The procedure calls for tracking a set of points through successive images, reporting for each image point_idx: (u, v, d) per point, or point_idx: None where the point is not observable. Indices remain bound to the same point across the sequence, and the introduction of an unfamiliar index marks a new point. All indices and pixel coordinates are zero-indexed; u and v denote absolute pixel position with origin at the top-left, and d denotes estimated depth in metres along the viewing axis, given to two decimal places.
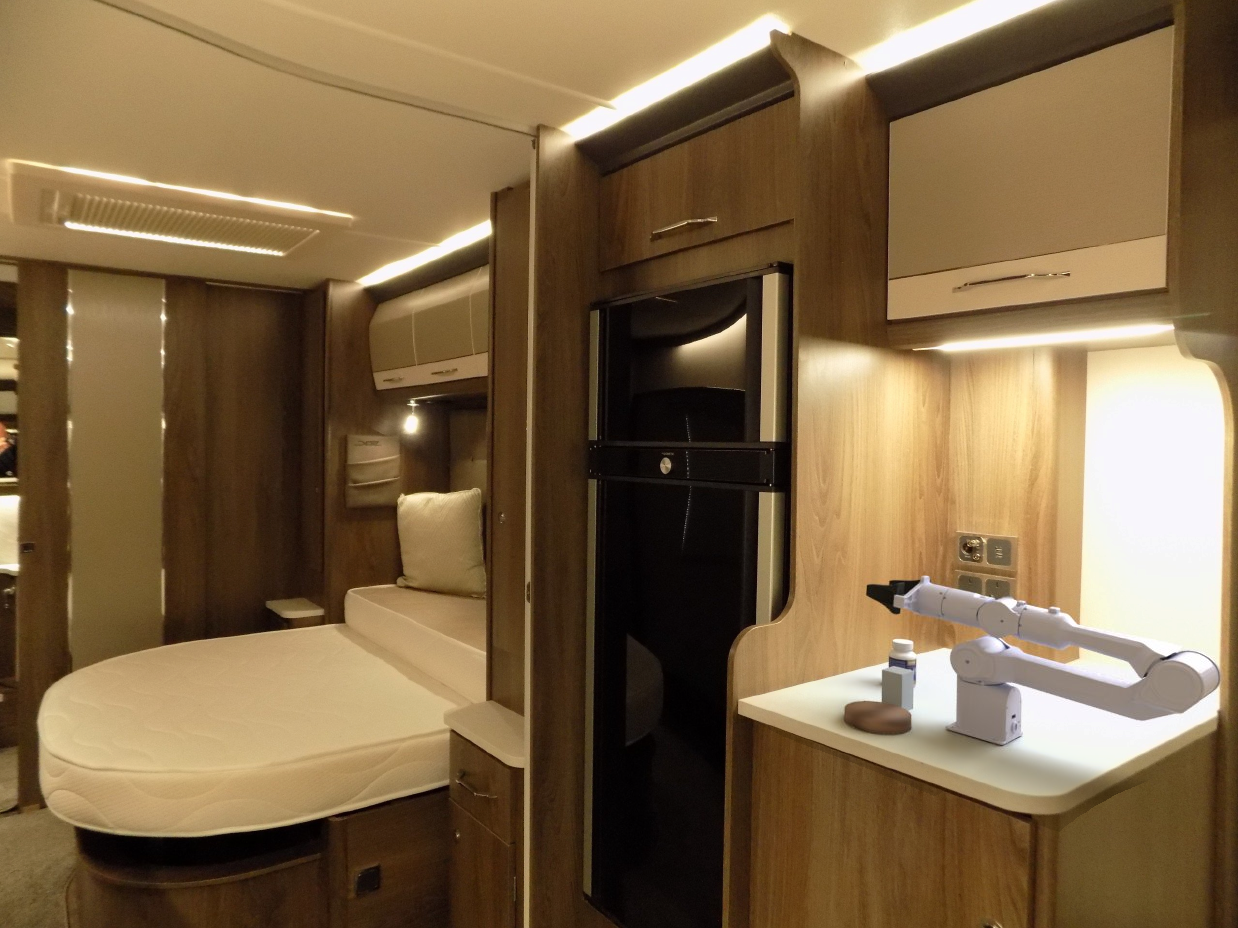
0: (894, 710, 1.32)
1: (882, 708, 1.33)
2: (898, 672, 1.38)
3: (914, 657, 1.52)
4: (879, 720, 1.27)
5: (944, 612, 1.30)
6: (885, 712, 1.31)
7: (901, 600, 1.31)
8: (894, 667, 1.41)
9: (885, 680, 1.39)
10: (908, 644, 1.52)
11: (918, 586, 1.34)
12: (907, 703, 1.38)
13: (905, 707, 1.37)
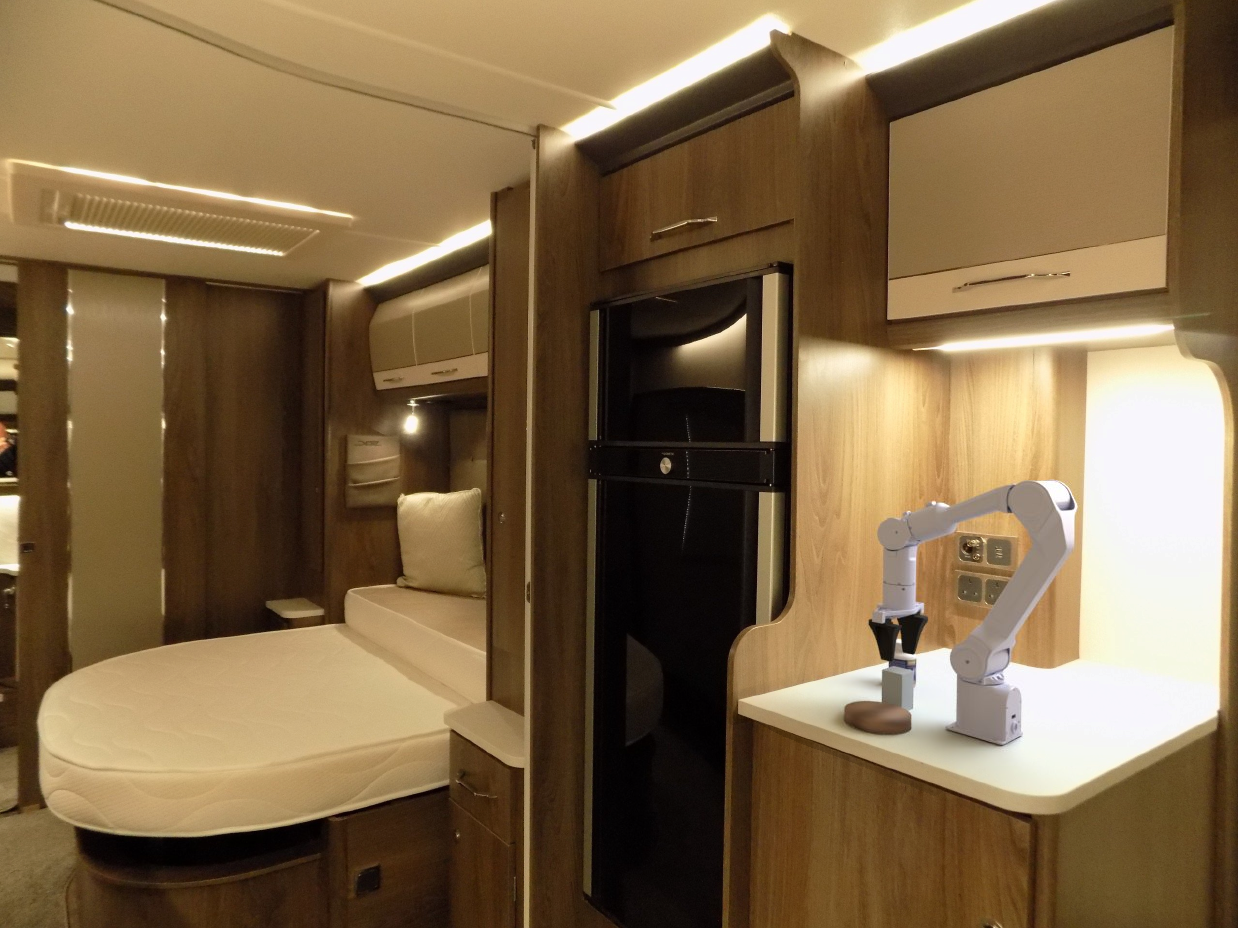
0: (894, 710, 1.32)
1: (882, 708, 1.33)
2: (898, 672, 1.38)
3: (914, 657, 1.52)
4: (879, 720, 1.27)
5: (896, 581, 1.37)
6: (885, 712, 1.31)
7: (875, 614, 1.35)
8: (894, 667, 1.41)
9: (885, 681, 1.39)
10: None
11: None
12: (907, 703, 1.38)
13: (905, 707, 1.37)
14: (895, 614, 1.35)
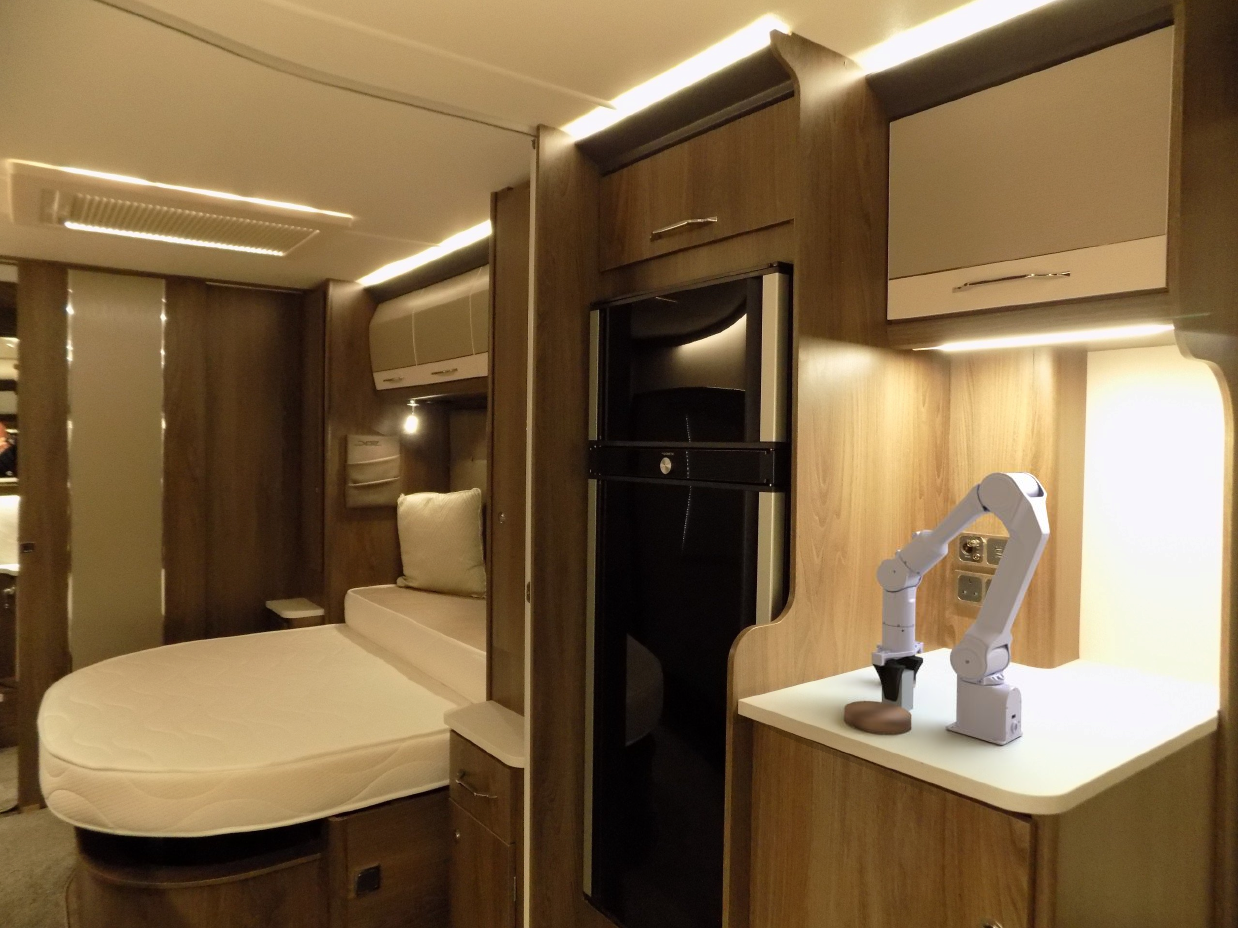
0: (894, 710, 1.32)
1: (882, 708, 1.33)
2: None
3: None
4: (879, 720, 1.27)
5: (895, 623, 1.37)
6: (885, 712, 1.31)
7: (874, 656, 1.35)
8: None
9: None
10: None
11: None
12: (907, 703, 1.38)
13: (905, 707, 1.37)
14: (894, 656, 1.35)
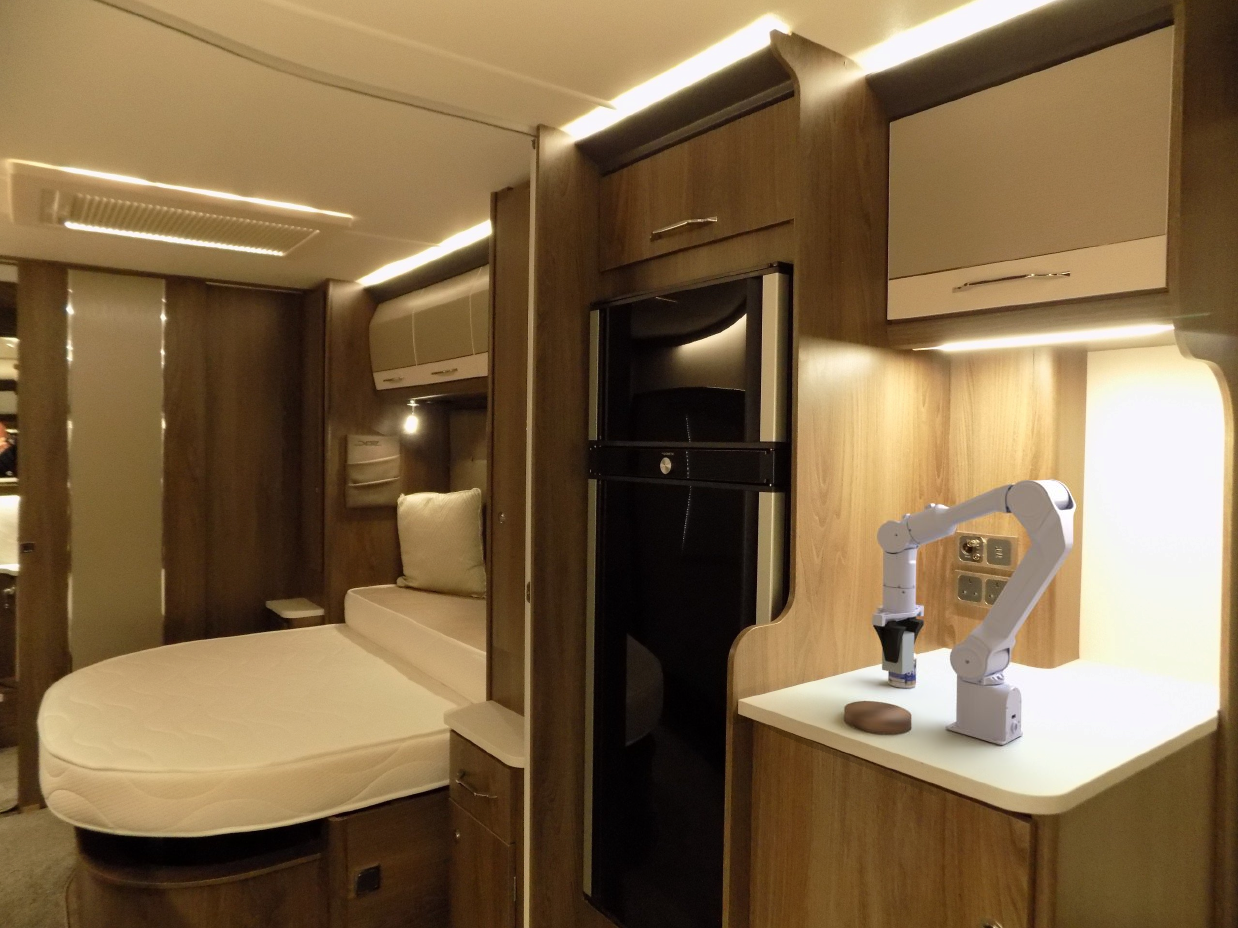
0: (894, 710, 1.32)
1: (882, 708, 1.33)
2: None
3: (914, 657, 1.52)
4: (879, 720, 1.27)
5: (896, 584, 1.37)
6: (885, 712, 1.31)
7: (875, 617, 1.35)
8: None
9: None
10: None
11: (880, 610, 1.39)
12: (908, 665, 1.38)
13: (906, 668, 1.37)
14: (895, 617, 1.35)
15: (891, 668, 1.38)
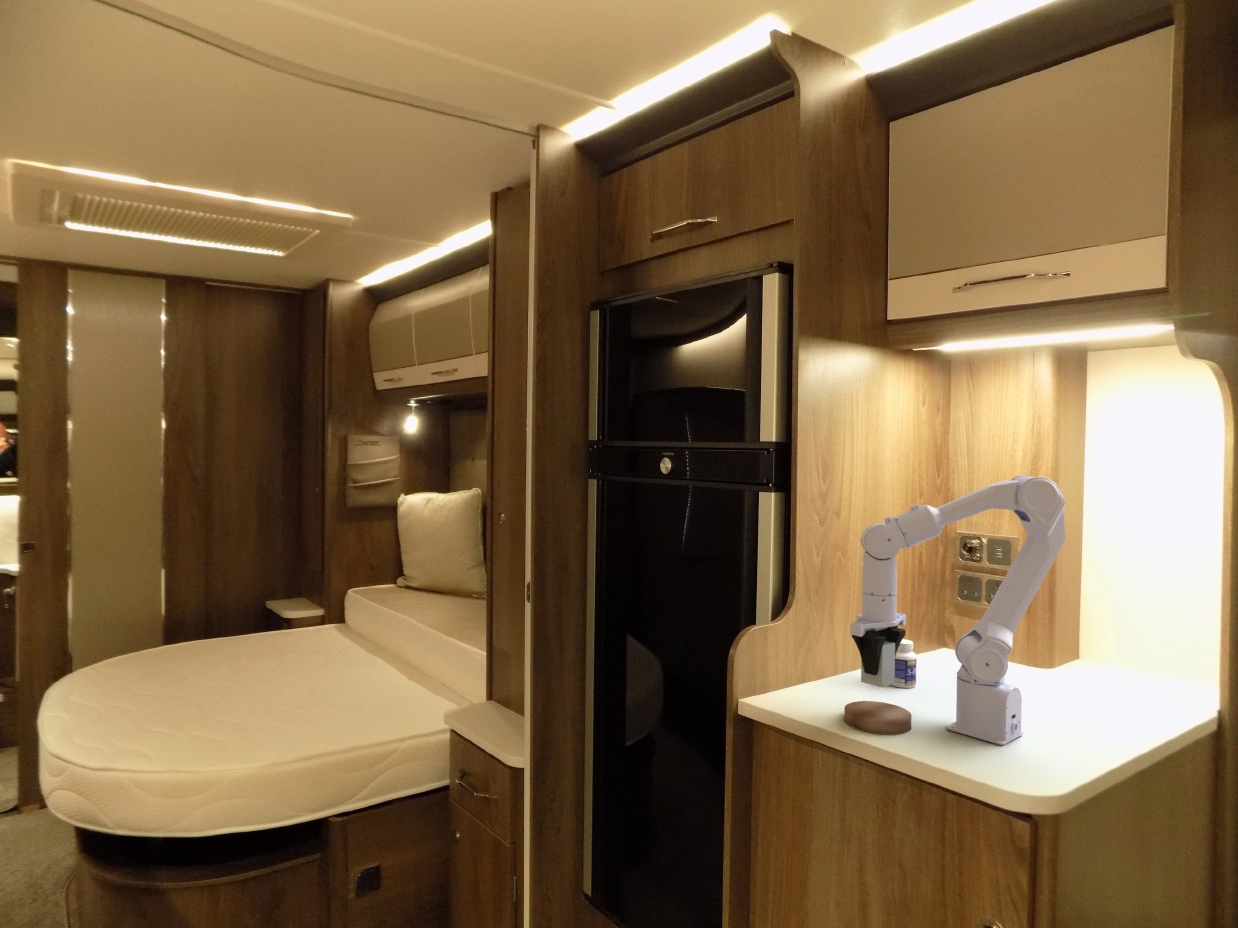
0: (894, 710, 1.32)
1: (882, 708, 1.33)
2: None
3: (914, 657, 1.52)
4: (879, 720, 1.27)
5: (887, 592, 1.28)
6: (885, 712, 1.31)
7: (853, 626, 1.27)
8: None
9: None
10: (908, 644, 1.52)
11: (859, 619, 1.32)
12: (888, 677, 1.30)
13: (886, 681, 1.29)
14: (874, 626, 1.27)
15: (870, 680, 1.30)
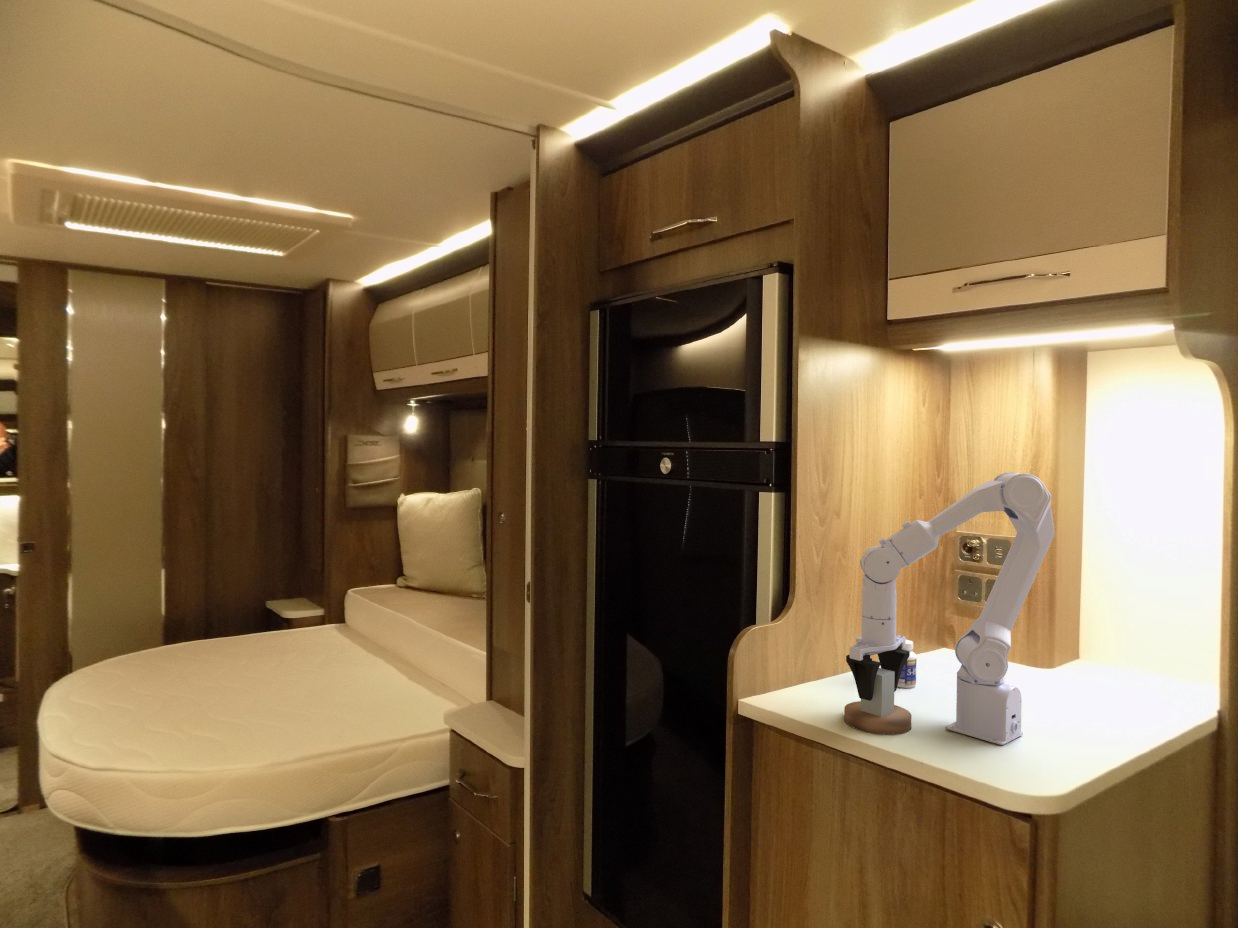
0: (894, 710, 1.32)
1: None
2: (877, 673, 1.30)
3: (914, 657, 1.52)
4: (879, 720, 1.27)
5: (886, 616, 1.28)
6: None
7: (852, 650, 1.27)
8: None
9: None
10: (908, 644, 1.52)
11: None
12: (887, 706, 1.30)
13: (885, 710, 1.29)
14: (874, 650, 1.27)
15: (870, 709, 1.30)
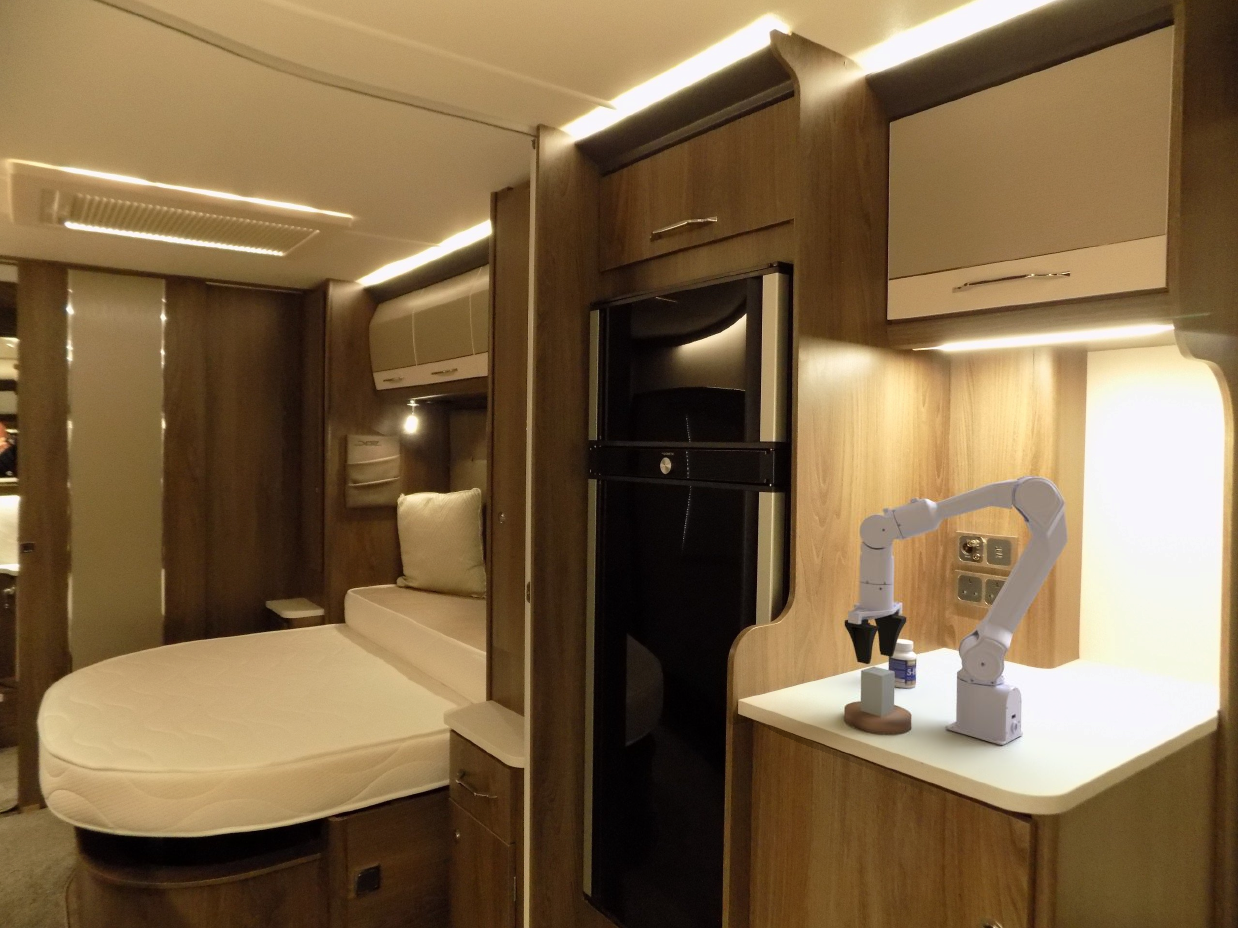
0: (894, 710, 1.32)
1: None
2: (877, 673, 1.30)
3: (914, 657, 1.52)
4: (879, 720, 1.27)
5: (881, 581, 1.31)
6: None
7: (851, 614, 1.29)
8: (874, 668, 1.33)
9: (864, 682, 1.31)
10: (908, 644, 1.52)
11: None
12: (887, 706, 1.30)
13: (885, 710, 1.29)
14: (872, 614, 1.30)
15: (870, 709, 1.30)
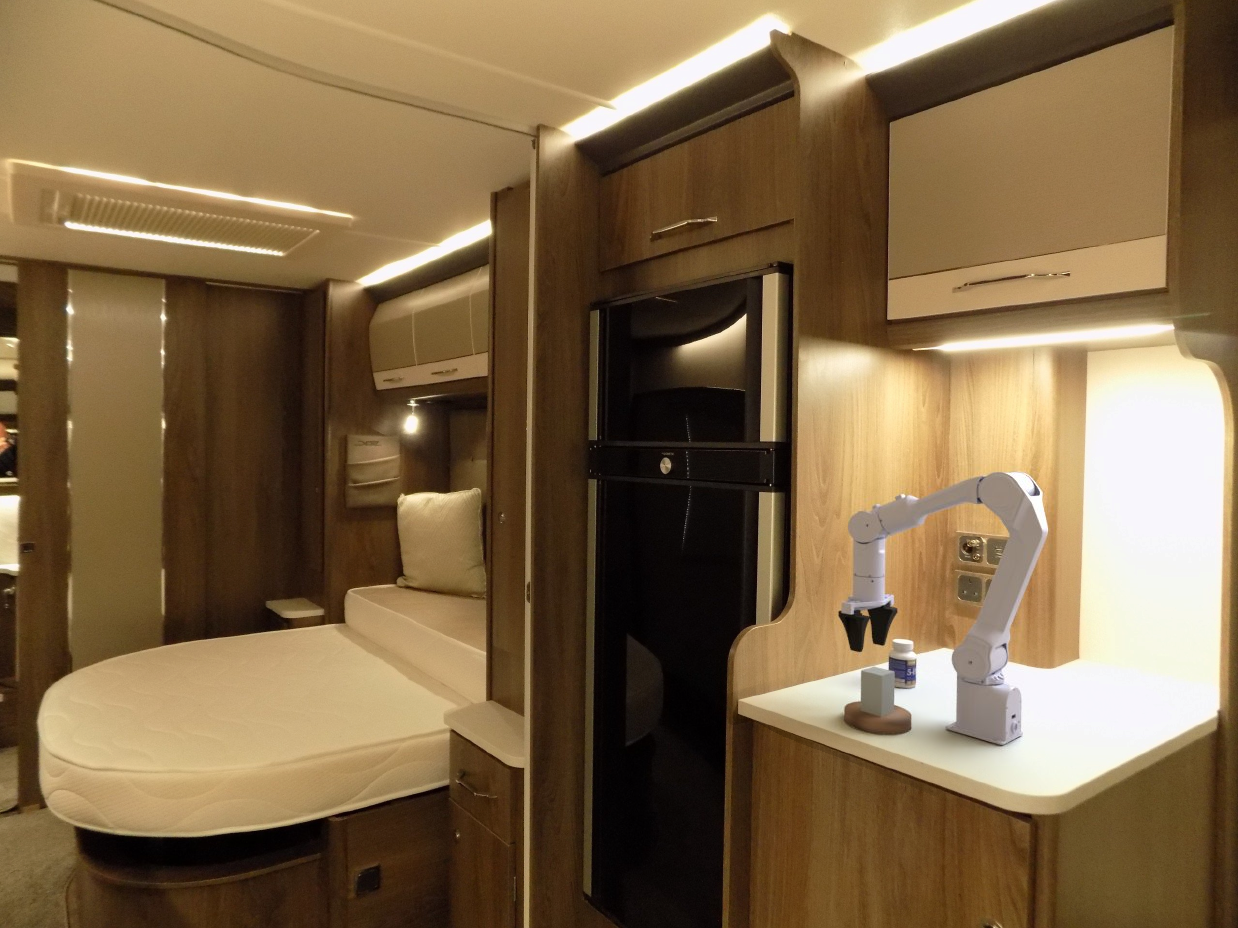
0: (894, 710, 1.32)
1: None
2: (877, 673, 1.30)
3: (914, 657, 1.52)
4: (879, 720, 1.27)
5: (867, 574, 1.39)
6: None
7: (844, 605, 1.37)
8: (874, 668, 1.33)
9: (864, 682, 1.31)
10: (908, 644, 1.52)
11: (850, 599, 1.42)
12: (887, 706, 1.30)
13: (885, 710, 1.29)
14: (864, 605, 1.38)
15: (870, 709, 1.30)
